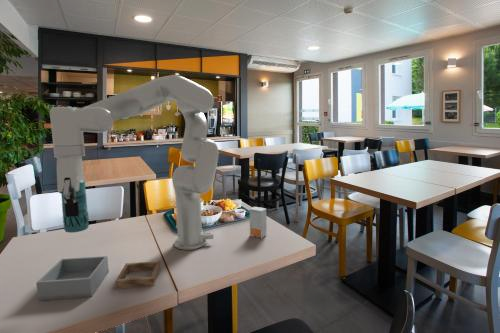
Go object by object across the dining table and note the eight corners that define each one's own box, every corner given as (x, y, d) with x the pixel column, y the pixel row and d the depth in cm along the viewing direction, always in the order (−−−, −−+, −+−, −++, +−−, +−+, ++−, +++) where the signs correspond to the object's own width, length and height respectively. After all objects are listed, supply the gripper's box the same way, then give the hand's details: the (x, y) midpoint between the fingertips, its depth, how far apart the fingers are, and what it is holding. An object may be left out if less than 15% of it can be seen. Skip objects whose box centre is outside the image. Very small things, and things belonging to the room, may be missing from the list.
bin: (108, 271, 99) (107, 256, 98) (91, 297, 85) (89, 278, 84) (63, 274, 97) (61, 258, 96) (38, 301, 84) (36, 282, 83)
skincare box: (249, 236, 127) (249, 208, 125) (254, 232, 131) (254, 206, 129) (261, 238, 124) (261, 211, 122) (266, 235, 127) (266, 208, 125)
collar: (160, 267, 101) (160, 261, 101) (153, 285, 90) (153, 278, 90) (126, 270, 100) (126, 263, 100) (115, 288, 89) (115, 281, 89)
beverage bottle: (59, 236, 86) (51, 168, 83) (77, 228, 92) (71, 164, 89) (77, 238, 84) (70, 168, 81) (95, 230, 91) (89, 165, 88)
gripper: (63, 149, 92) (69, 205, 95) (43, 155, 76) (51, 223, 78) (90, 148, 94) (95, 203, 97) (77, 154, 78) (83, 220, 81)
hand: (75, 212), depth 88 cm, fingers closed on beverage bottle, 6 cm apart
